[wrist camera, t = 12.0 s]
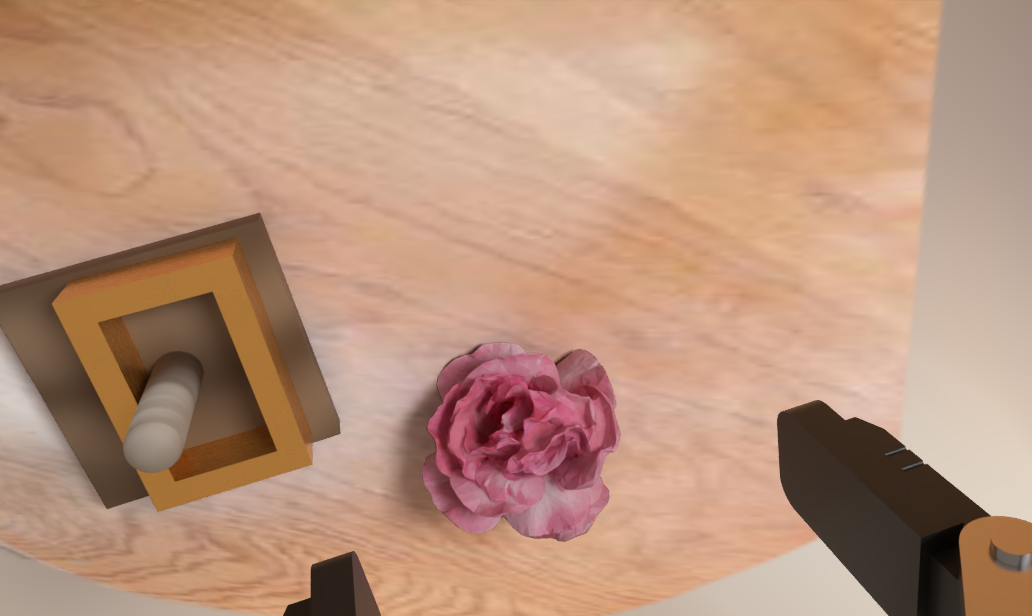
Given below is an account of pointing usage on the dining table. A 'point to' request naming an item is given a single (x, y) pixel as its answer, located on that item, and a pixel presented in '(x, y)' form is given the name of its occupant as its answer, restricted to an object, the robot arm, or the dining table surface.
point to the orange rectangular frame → (123, 377)
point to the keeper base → (151, 340)
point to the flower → (522, 441)
